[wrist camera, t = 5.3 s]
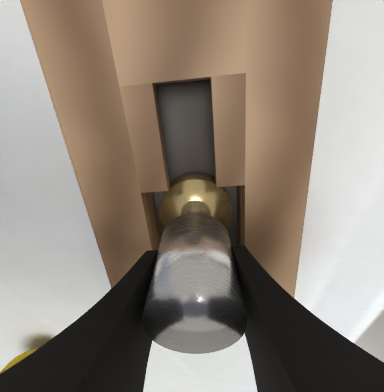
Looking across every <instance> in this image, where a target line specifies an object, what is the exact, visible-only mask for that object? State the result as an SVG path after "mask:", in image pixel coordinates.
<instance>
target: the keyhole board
mask: <svg viewBox="0 0 384 392" xmlns="http://www.w3.org/2000/svg"><path fill="white" fill-rule="evenodd" d="M332 1H333V0H20V2H21V5H22V8H23V11H24V14H25V18H26V21H27V24H28V27H29V30H30V33H31V36H32V40H33V43H34V46H35V49H36V52H37V55H38V58H39V62H40V65H41V68H42V71H43V74H44V77H45V80H46V84H47V87H48V90H49V93H50V96H51V99H52V102H53V106H54V109H55V112H56V115H57V118H58V121H59V124H60V128H61V131H62V134H63V137H64V140H65V143H66V146H67V149H68V153H69V156H70V159H71V162H72V165H73V168H74V171H75V175H76V178H77V181H78V184H79V187H80V190H81V193H82V197H83V200H84V203H85V206H86V209H87V212H88V215H89V219H90V222H91V225H92V228H93V231H94V234H95V237H96V241H97V244H98V247H99V250H100V253H101V256H102V259H103V263H104V266H105V269H106V272H107V275H108V278H109V281H110V285H111V288H113V287H114V286H115V285H116V284H117V283H118V282H119V281H120V280H121V278H122V277H123V276H124V275H125V274H126V273H127V272H128V271H129V270H130V269H131V267H132V266H133V265H134V264H135V263H136V262H137V261H138V259H139V258H140V257H141V256H142V255H143V254H144V253H145V252H146V251H150V250H159V246H160V242H161V238H162V234H163V231H164V229H165V227H164V226H163V224H162V222H161V219H160V214H159V208H160V203H161V200H162V197H163V194H164V192H165V191H168V189H169V187H170V185H169V184H170V183H171V182H172V181H174V180H175V179H176V178H178V177H180V176H183V175H186V174H191V173H201V174H206V175H209V176H212V177H214V178H215V181H216V187H225V188H226V190H227V192H228V194H229V198H230V201H231V204H232V211H233V212H232V219H231V222H230V224H229V226H228V227H227V232H228V235H229V239H230V244H231V246H237V245H244V246H246V247H247V249H248V250H249V251H250V253H251V254H252V255H253V256H254V258H255V259H256V260H257V261H258V262H259V263H260V265H261V266H262V267H263V268H264V269H265V270H266V271H267V272H268V273H269V274H270V276H271V277H272V278H273V279H274V280H275V281H276V282H277V283H278V284H279V285H280V286H281V287H282V288H283V289H284V290H286V291H287V292H288V293H289V294H290V295H291V296H292V297H293V298H294V294H295V287H296V279H297V271H298V263H299V256H300V248H301V240H302V233H303V225H304V217H305V209H306V202H307V194H308V186H309V179H310V171H311V163H312V155H313V148H314V140H315V132H316V125H317V117H318V109H319V101H320V94H321V86H322V78H323V71H324V63H325V55H326V48H327V40H328V32H329V24H330V17H331V9H332Z"/></svg>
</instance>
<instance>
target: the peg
mask: <svg viewBox="0 0 384 392" xmlns="http://www.w3.org/2000/svg"><path fill="white" fill-rule="evenodd" d="M169 185H170V187H169V189H168V191H165V192H164V194H163V197H162V200H161V203H160V208H159V214H160V219H161V222H162V224H163V226H164V227H165V229H164V231H163V234H162V238H161V242H160V246H159V250H158V254H157V258H156V262H155V266H154V270H153V275H152V279H151V283H150V287H149V291H148V295H147V299H146V303H145V307H144V311H143V315H142V325H143V328H144V331H145V332H146V334H147V335H148V336H149V337H150V338H151V339H152V340H153V341H154V342H156V343H157V344H159V345H161V346H163V347H165V348H168V349H170V350H174V351H178V352H183V353H192V354H200V353H210V352H215V351H219V350H222V349H224V348H227V347H229V346H231V345H232V344H234V343H235V342H237V341H238V340H239V339H240V338H241V337H242V336H243V334H244V333H245V331H246V328H247V317H246V312H245V308H244V303H243V299H242V294H241V289H240V285H239V280H238V276H237V271H236V266H235V262H234V258H233V253H232V248H231V244H230V239H229V235H228V232H227V227H228V226H229V224H230V222H231V219H232V212H233V211H232V204H231V201H230V198H229V194H228V192H227V190H226V188H225V187H216V181H215V178H214V177H212V176H209V175H206V174H201V173H191V174H186V175H183V176H180V177H178V178H176V179H175V180H174V181H172V182H171V183H170V184H169Z"/></svg>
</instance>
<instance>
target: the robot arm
mask: <svg viewBox="0 0 384 392" xmlns="http://www.w3.org/2000/svg"><path fill="white" fill-rule="evenodd" d="M231 248H232V253H233V258H234V262H235V266H236V271H237V276H238V280H239V285H240V289H241V294H242V299H243V303H244V308H245V312H246V317H247V328H246V331H245V336H246V339H247V343H248V347H249V351H250V355H251V359H252V364H253V369H254V375H255V380H256V385H257V391H258V392H384V362H382V361H380V360H378V359H377V358H375V357H374V356H372V355H371V354H369V353H368V352H366V351H365V350H363V349H362V348H360V347H358V346H357V345H355V344H354V343H352V342H351V341H349V340H348V339H346V338H345V337H344V336H342V335H341V334H339V333H338V332H337V331H335V330H334V329H332V328H331V327H330V326H328V325H327V324H326V323H324V322H323V321H321V320H320V319H319V318H317V317H316V316H315V315H314V314H312V313H311V312H310V311H308V310H307V309H306V308H305V307H304V306H302V305H301V304H300V303H299V302H298V301H297V300H295V299H294V298H293V297H292V296H291V295H290V294H289V293H288V292H287V291H286V290H284V289H283V288H282V287H281V286H280V285H279V284H278V283H277V282H276V281H275V280H274V279H273V278H272V277H271V276H270V274H269V273H268V272H267V271H266V270H265V269H264V268H263V267H262V266H261V265H260V263H259V262H258V261H257V260H256V259H255V258H254V256H253V255H252V254H251V253H250V251H249V250H248V249H247V247H246V246H244V245H237V246H231ZM157 254H158V250H150V251H146V252H145V253H144V254H143V255H142V256H141V257H140V258H139V259H138V261H137V262H136V263H135V264H134V265H133V266H132V267H131V269H130V270H129V271H128V272H127V273H126V274H125V275H124V276H123V277H122V278H121V280H120V281H119V282H118V283H117V284H116V285H115V286H114V287H113V288H112V289H111V290H110V291H109V292H108V293H107V294H106V295H105V296H104V297H103V298H102V299H101V300H100V301H98V302H97V303H96V304H95V305H94V306H93V307H92V308H91V309H89V310H88V311H87V312H86V313H85V314H84V315H82V316H81V317H80V318H79V319H77V320H76V321H75V322H74V323H72V324H71V325H70V326H68V327H67V328H66V329H64V330H63V331H62V332H61V333H59V334H58V335H57V336H55V337H54V338H53V339H51V340H50V341H49V342H47V343H46V344H44V345H43V346H41V347H40V348H39V349H37V350H36V351H34V352H33V353H31V354H30V355H28V356H27V357H25V358H24V359H22V360H21V361H19V362H18V363H16V364H15V365H13V366H12V367H10V368H9V369H7V370H5V371H4V372H2V373H0V392H143V387H144V381H145V375H146V368H147V362H148V357H149V352H150V348H151V344H152V339H151V338H150V337H149V336H148V335H147V334H146V332H145V331H144V328H143V325H142V315H143V311H144V307H145V303H146V299H147V295H148V291H149V287H150V283H151V279H152V275H153V270H154V266H155V262H156V258H157Z"/></svg>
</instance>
